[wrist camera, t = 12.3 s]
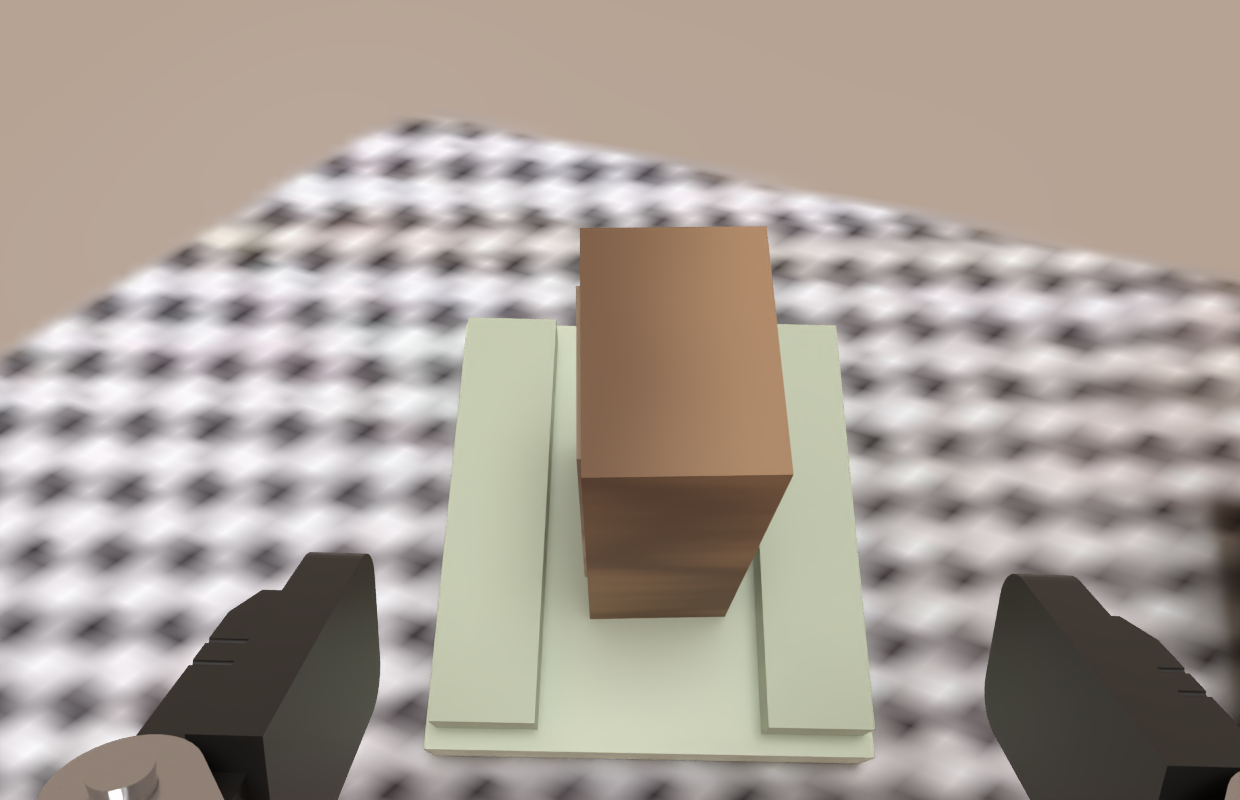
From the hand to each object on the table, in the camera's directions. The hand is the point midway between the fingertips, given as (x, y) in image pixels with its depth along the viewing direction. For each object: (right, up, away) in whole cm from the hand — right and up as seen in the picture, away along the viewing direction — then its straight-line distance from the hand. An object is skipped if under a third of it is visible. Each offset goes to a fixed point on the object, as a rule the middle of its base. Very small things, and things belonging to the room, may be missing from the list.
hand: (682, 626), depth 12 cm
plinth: (0, -1, +15) cm, 15 cm away
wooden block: (0, -1, +14) cm, 14 cm away
